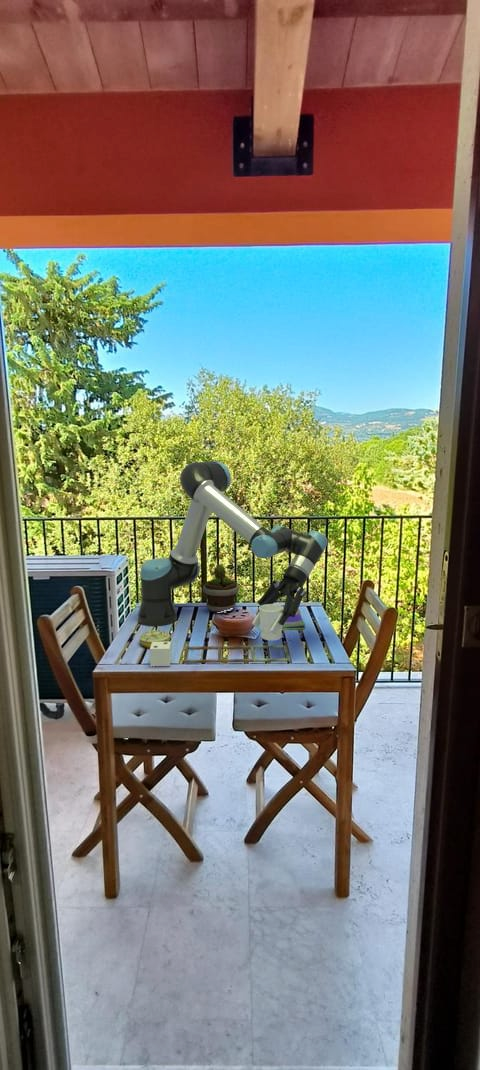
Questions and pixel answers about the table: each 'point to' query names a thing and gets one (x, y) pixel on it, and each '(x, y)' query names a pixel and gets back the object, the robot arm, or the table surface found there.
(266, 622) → the white cup
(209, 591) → the flowerpot
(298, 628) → the dish towel
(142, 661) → the table surface
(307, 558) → the robot arm
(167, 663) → the white die
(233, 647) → the flat rectangular frame
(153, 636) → the decorated donut
